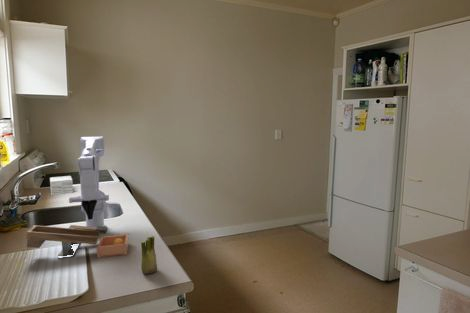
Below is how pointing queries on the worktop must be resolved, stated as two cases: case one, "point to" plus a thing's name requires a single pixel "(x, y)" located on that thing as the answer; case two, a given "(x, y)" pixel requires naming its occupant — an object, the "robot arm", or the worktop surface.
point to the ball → (118, 241)
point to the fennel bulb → (148, 256)
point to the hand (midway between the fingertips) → (90, 218)
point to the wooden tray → (63, 234)
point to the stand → (67, 249)
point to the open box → (112, 246)
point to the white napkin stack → (61, 185)
